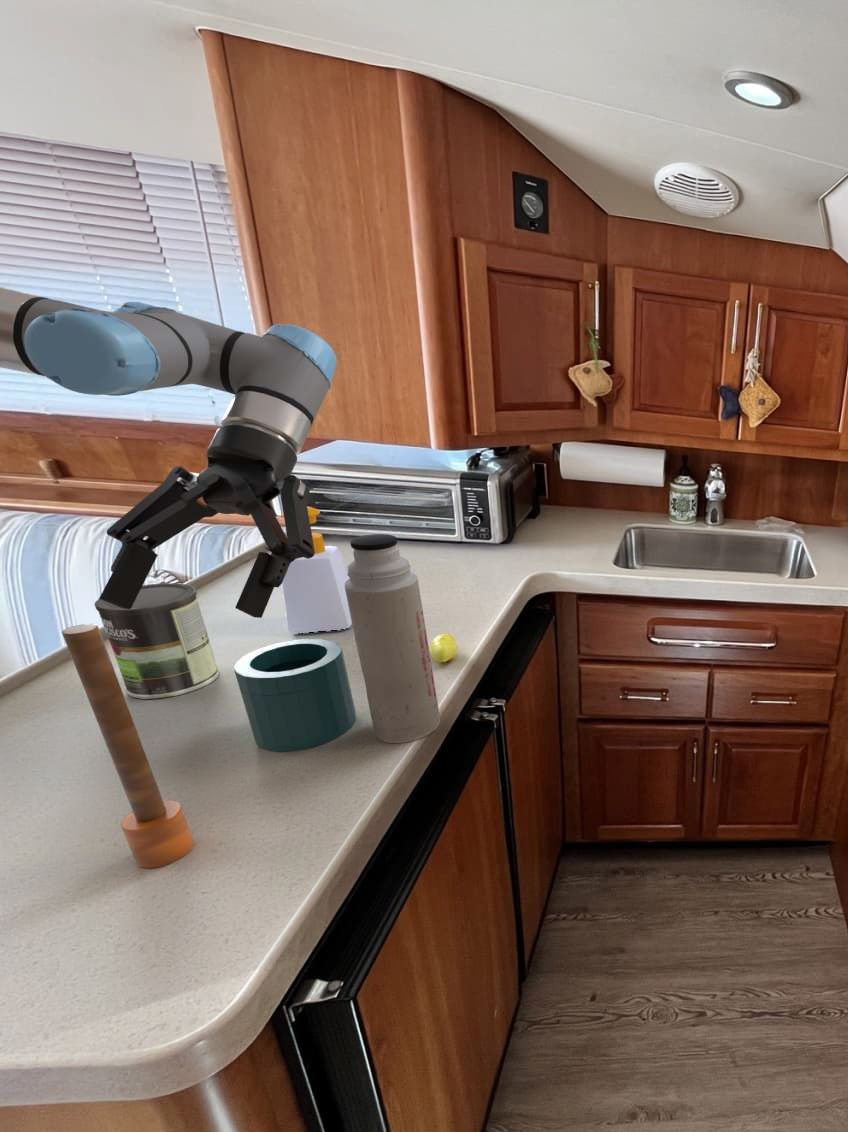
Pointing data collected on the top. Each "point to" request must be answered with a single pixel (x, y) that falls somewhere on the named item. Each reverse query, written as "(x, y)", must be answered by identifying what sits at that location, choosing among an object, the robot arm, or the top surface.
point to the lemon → (443, 648)
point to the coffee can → (160, 641)
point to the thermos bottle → (391, 640)
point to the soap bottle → (316, 589)
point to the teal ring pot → (296, 694)
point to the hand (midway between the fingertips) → (181, 609)
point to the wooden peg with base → (128, 756)
